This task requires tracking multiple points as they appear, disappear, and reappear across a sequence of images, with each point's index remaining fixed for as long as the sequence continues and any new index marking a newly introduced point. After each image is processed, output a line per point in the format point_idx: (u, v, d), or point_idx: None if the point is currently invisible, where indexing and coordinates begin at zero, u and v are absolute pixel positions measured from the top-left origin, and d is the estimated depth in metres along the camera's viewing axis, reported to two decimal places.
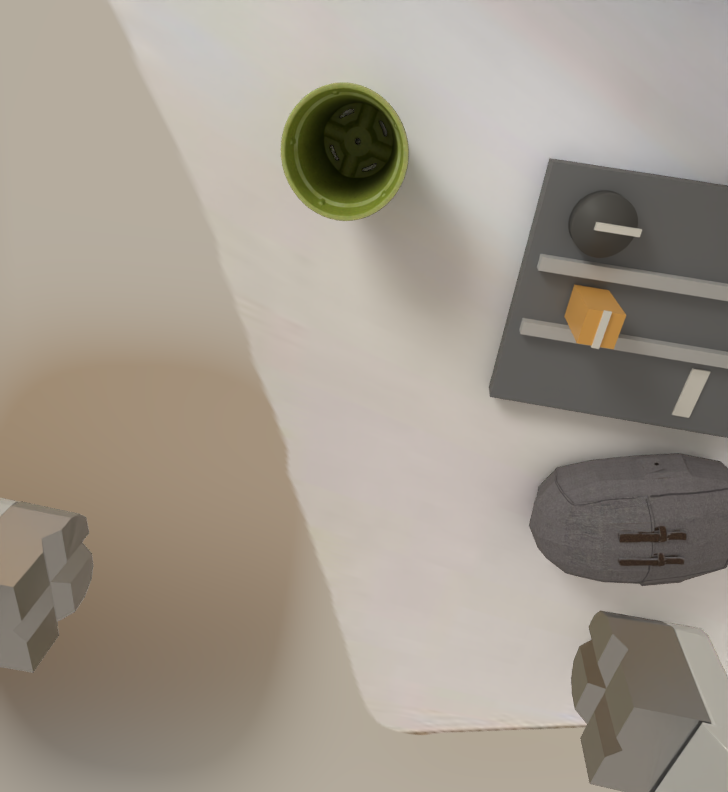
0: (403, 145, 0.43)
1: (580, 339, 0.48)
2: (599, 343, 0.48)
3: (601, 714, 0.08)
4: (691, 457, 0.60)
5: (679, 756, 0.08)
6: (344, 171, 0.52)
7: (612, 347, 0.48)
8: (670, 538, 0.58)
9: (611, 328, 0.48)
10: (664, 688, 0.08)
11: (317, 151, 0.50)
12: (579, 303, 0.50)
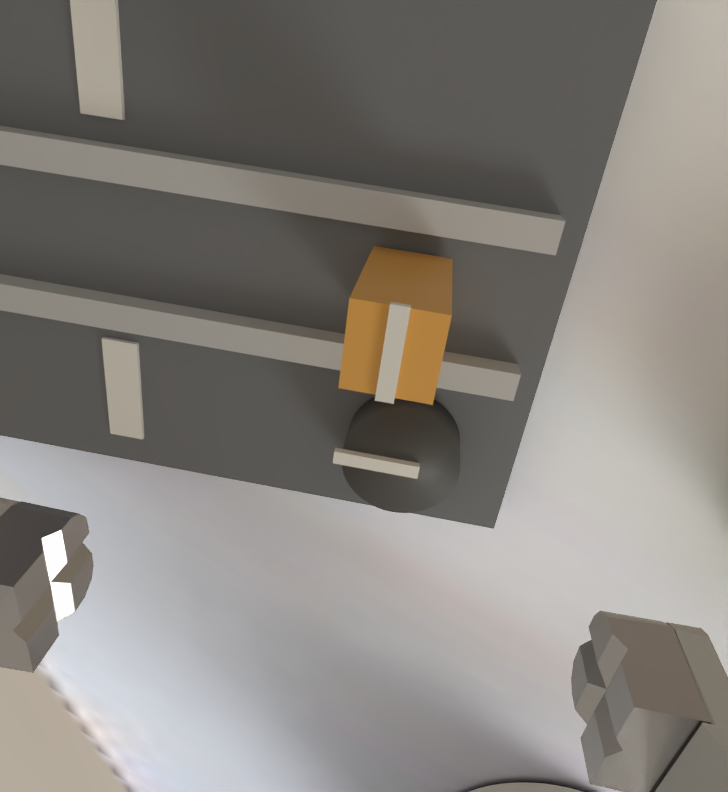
0: None
1: (442, 326, 0.17)
2: (391, 319, 0.17)
3: (601, 714, 0.08)
4: None
5: (679, 756, 0.08)
6: None
7: (353, 303, 0.17)
8: None
9: (367, 356, 0.18)
10: (664, 688, 0.08)
11: None
12: None
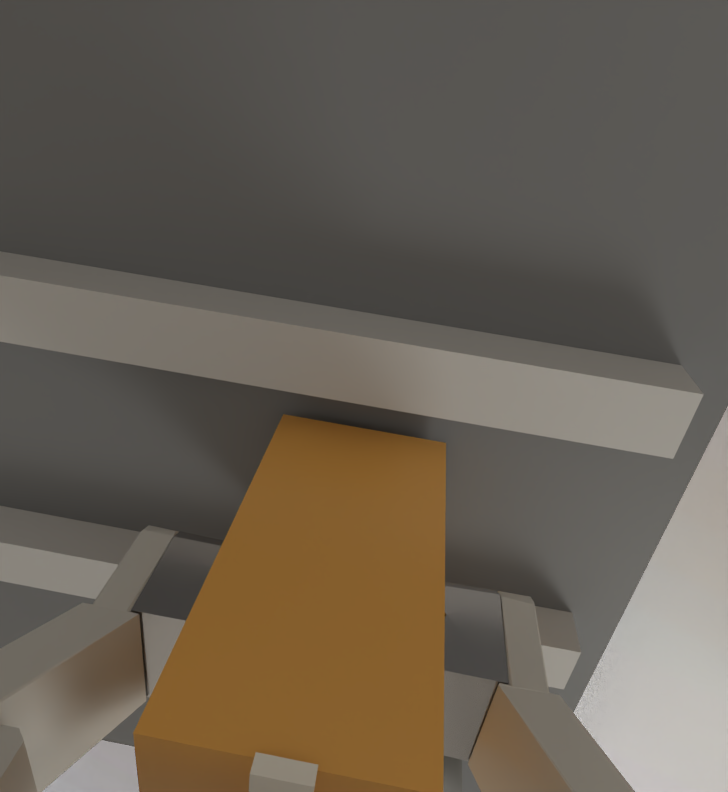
0: None
1: None
2: None
3: None
4: None
5: (485, 718, 0.08)
6: None
7: (148, 746, 0.06)
8: None
9: None
10: (471, 651, 0.08)
11: None
12: None
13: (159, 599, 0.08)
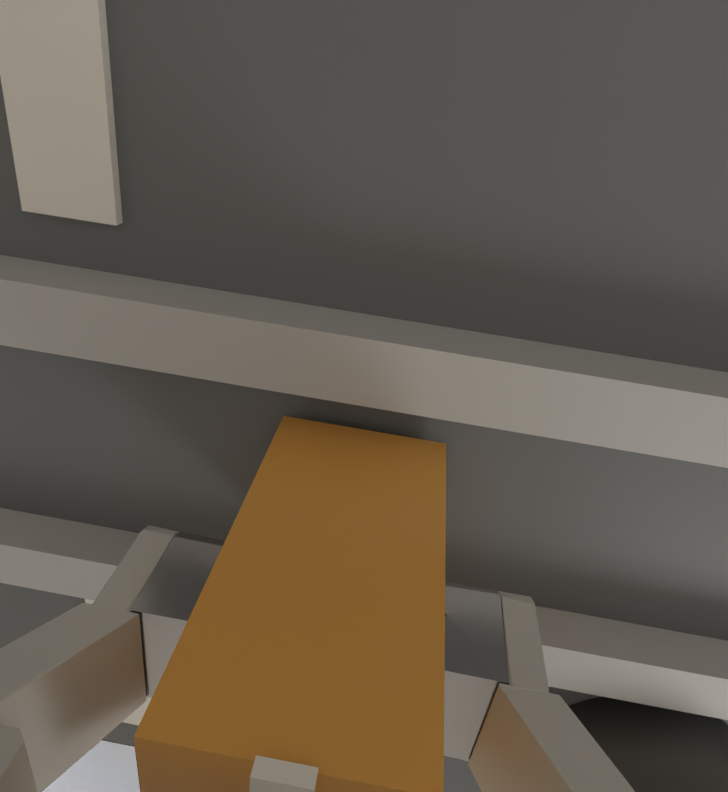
0: None
1: None
2: None
3: None
4: None
5: (486, 718, 0.08)
6: None
7: (149, 749, 0.06)
8: None
9: None
10: (472, 651, 0.08)
11: None
12: None
13: (159, 599, 0.08)
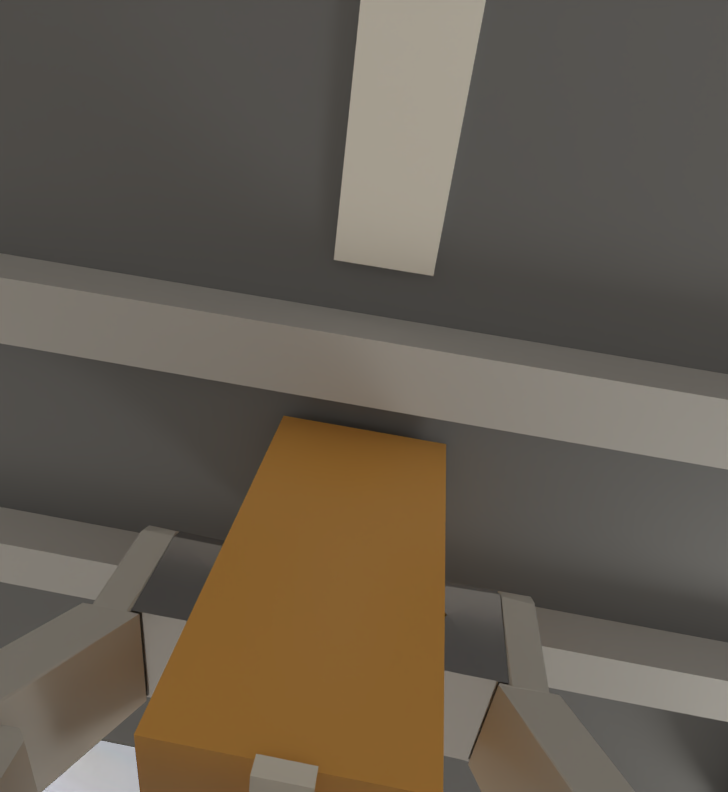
0: None
1: None
2: None
3: None
4: None
5: (486, 718, 0.08)
6: None
7: (148, 747, 0.06)
8: None
9: None
10: (472, 651, 0.08)
11: None
12: None
13: (159, 599, 0.08)
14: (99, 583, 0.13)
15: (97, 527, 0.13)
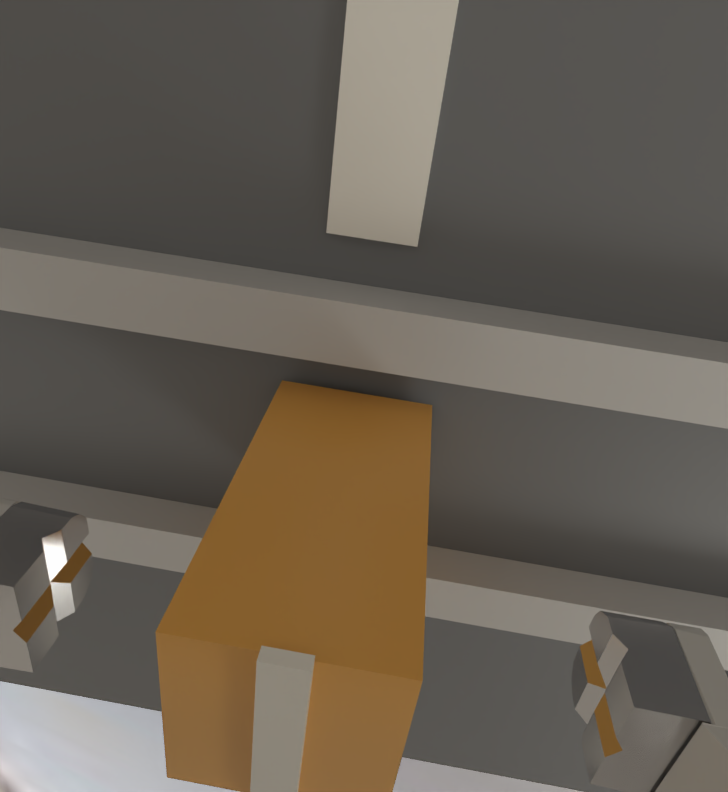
0: None
1: (397, 698, 0.07)
2: (264, 686, 0.07)
3: (601, 714, 0.08)
4: None
5: (679, 756, 0.08)
6: None
7: (168, 643, 0.07)
8: None
9: (221, 734, 0.07)
10: (664, 688, 0.08)
11: None
12: None
13: None
14: (110, 542, 0.14)
15: (107, 491, 0.14)
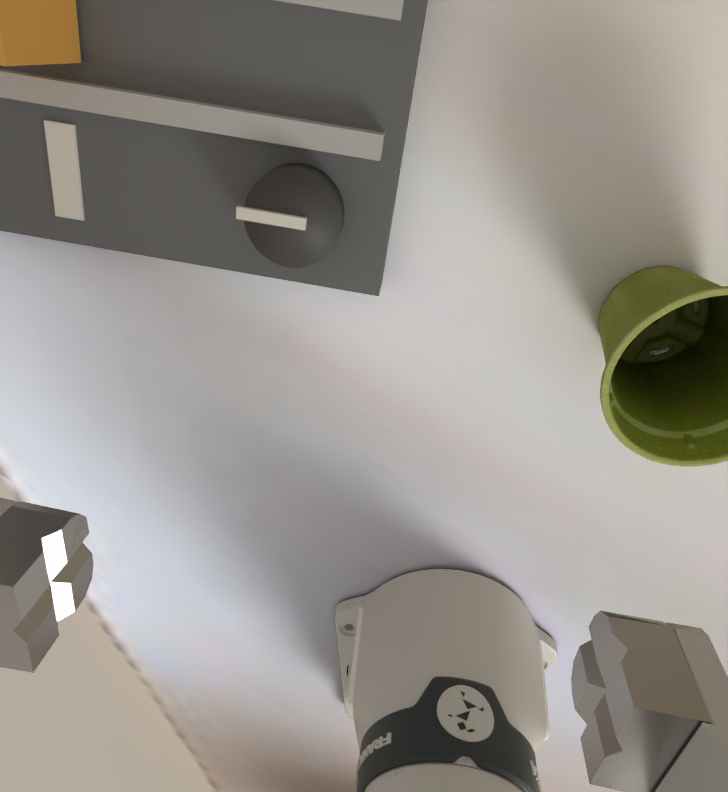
0: (608, 391, 0.29)
1: None
2: None
3: (601, 714, 0.08)
4: None
5: (679, 756, 0.08)
6: None
7: None
8: None
9: None
10: (664, 688, 0.08)
11: (727, 324, 0.33)
12: (41, 50, 0.27)
13: None
14: None
15: None
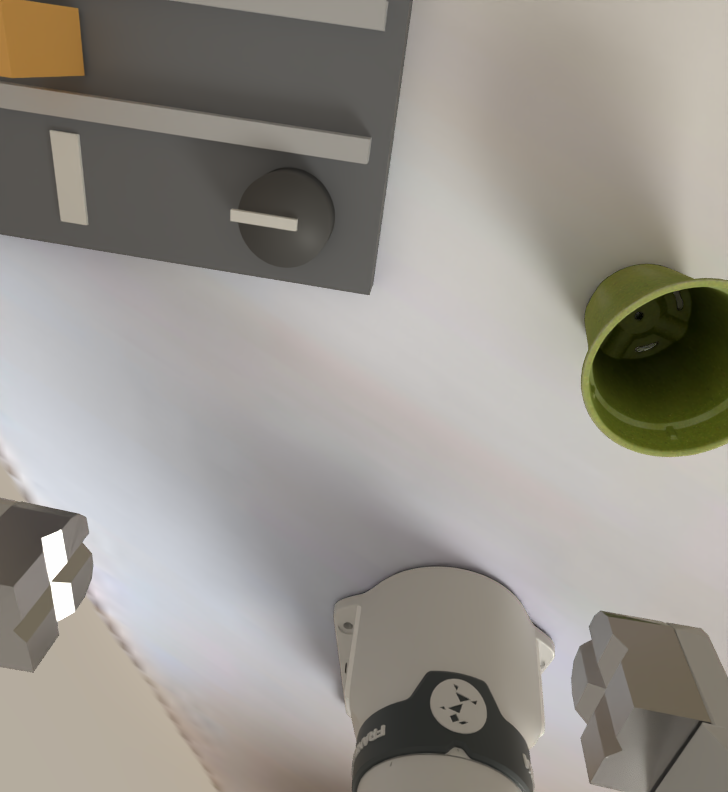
0: (588, 382, 0.30)
1: None
2: None
3: (601, 714, 0.08)
4: None
5: (679, 756, 0.08)
6: None
7: None
8: None
9: None
10: (664, 688, 0.08)
11: (708, 319, 0.34)
12: (46, 63, 0.28)
13: None
14: None
15: None
